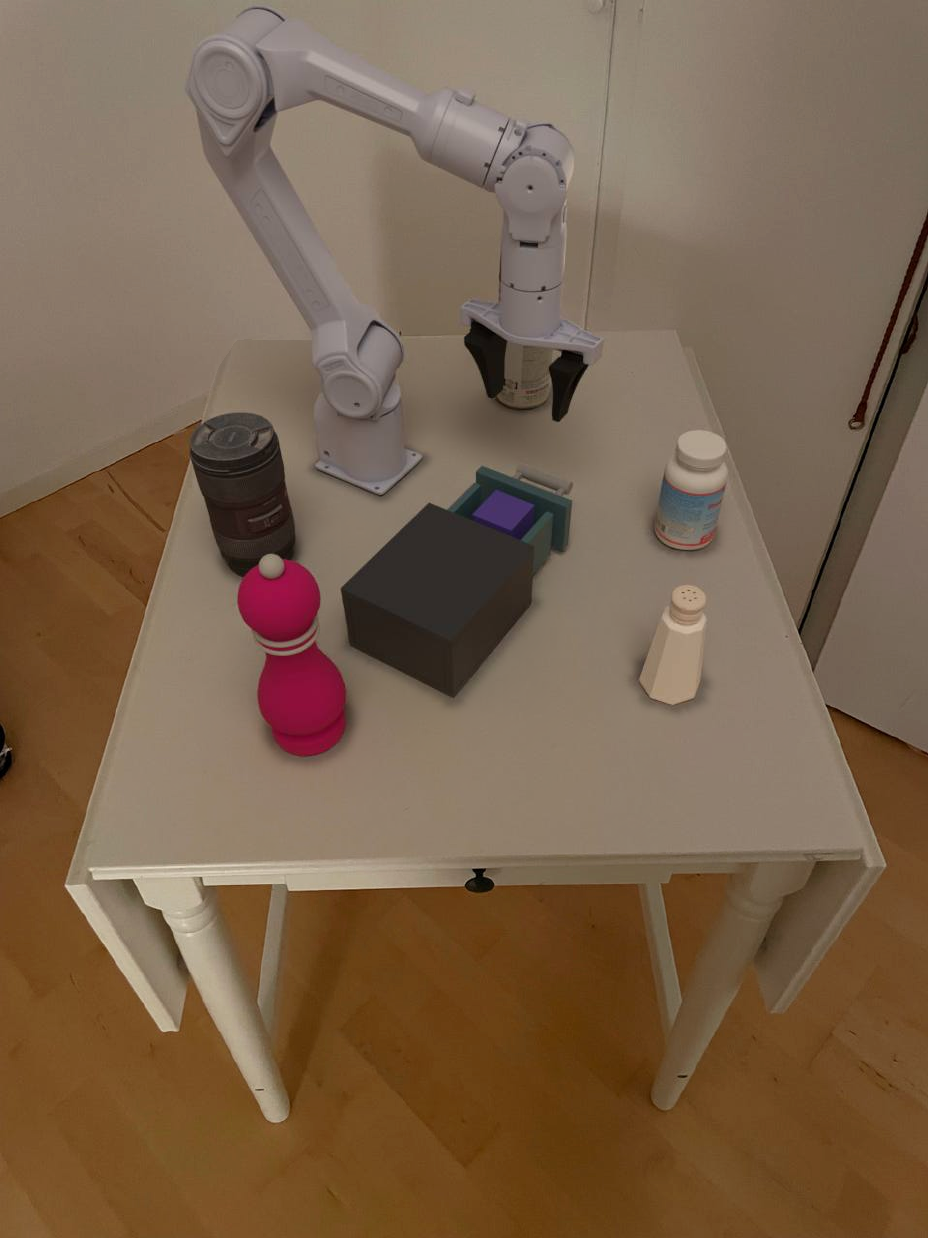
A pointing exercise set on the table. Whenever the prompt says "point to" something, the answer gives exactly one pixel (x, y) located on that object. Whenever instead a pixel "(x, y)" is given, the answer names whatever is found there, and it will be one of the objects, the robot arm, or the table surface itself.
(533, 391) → the spray can
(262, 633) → the pepper mill
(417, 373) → the table surface
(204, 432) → the camera lens
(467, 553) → the dark drawer box
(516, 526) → the purple upright block
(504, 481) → the teal drawer
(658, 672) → the salt shaker
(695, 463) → the pill bottle
